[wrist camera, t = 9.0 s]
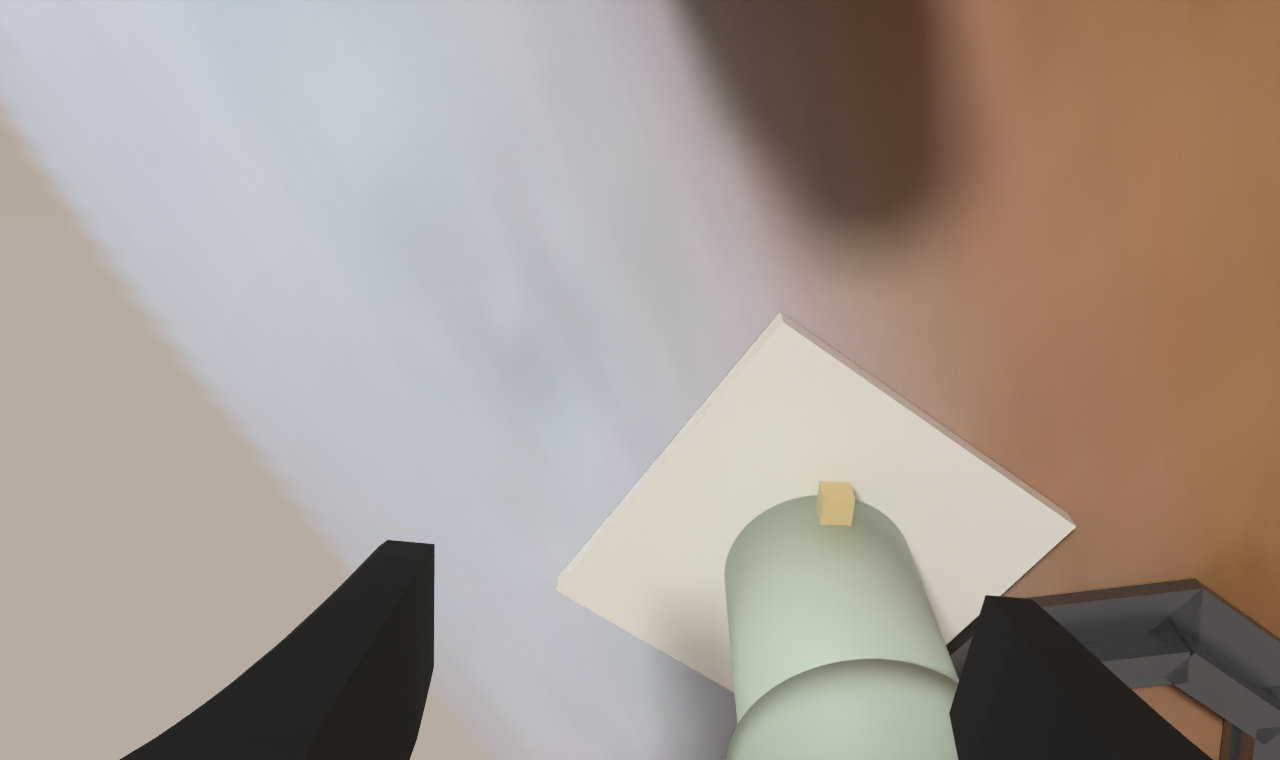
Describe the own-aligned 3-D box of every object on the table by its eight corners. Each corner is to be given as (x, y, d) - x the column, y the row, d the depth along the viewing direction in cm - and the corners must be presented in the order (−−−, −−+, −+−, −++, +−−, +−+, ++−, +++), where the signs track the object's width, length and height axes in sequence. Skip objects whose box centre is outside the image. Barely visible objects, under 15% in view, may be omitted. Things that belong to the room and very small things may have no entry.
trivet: (1066, 512, 24) (1076, 526, 24) (828, 732, 28) (831, 749, 27) (779, 312, 22) (783, 322, 22) (559, 575, 25) (556, 590, 25)
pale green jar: (905, 671, 26) (983, 920, 19) (705, 663, 26) (718, 909, 19) (942, 473, 23) (1046, 686, 17) (720, 465, 23) (740, 675, 17)
